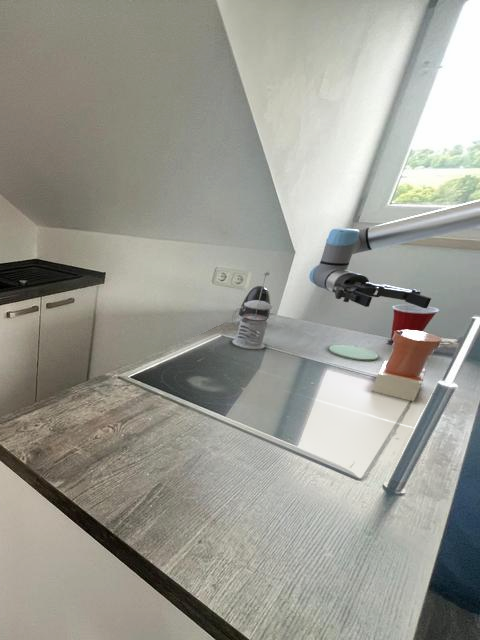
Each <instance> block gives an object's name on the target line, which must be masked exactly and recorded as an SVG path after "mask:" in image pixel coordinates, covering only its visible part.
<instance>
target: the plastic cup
mask: <svg viewBox="0 0 480 640" xmlns="http://www.w3.org/2000/svg"><path fill="white" fill-rule="evenodd" d="M391 308H392V309H393V319H392V327H391V330H392V331H391V334H390V340H391V341H393V340H392V338H393V336H394V333H395V331H398V330H412V331H419V332H424V330H425V329H426V328H427V326H428V325H429V323H430V322H431V320H433V318H434V317H435V315H436V314H437V313H438V312H439V311H440V309H439V308H436V307H433V306H430V305H428V307H427V308H422V307H419V306H416V305H413V304H395V305H392V306H391Z"/></svg>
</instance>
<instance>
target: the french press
mask: <svg viewBox="0 0 480 640" xmlns="http://www.w3.org/2000/svg"><path fill="white" fill-rule="evenodd" d="M261 273H262V276H264V278H263V282H262V285H261V286H262V289H263V287H264V284H265V281H266V277H267V276H270V272H269V271H267V270H266V271H263V272H261ZM261 293H262V290H261ZM260 297H261V294H260ZM244 305H245V306H246V307H248V308H252V309H258V310H269V309H270V310H271V309H273V306H272V305H271V303H270V304H269V303H267V302H265V301H261V300H260V298H259V300H253V301H249V302H246V303H244ZM243 307H244V306H243ZM243 307H241V306H240V307H238V308H237V309H235V310H234V311H233V313H232V316H231V321H232V324H233V326H235V327H236V328H237V332H236V336H235V338H234V339H232V341H231V343H232V344H233V345H235V346H237V347H239V348H244V349H249V350H262V349H264V348H265V347H266V345H265V344H264V338H265V334H266V331H267V327H268V322H267V321H266V320H268V319H269V318H267V317H265V316H261V315H256V314H245V315H243V317H244V318H243V319H242V321H240V320H239V321H240V322H239V324H238V323H237V321H236V315H237V314H236V313H237V312H239V310H240V308H243ZM246 307H245V309H246ZM245 309H244V308H243V310H244V311H245ZM243 310H242V311H243ZM256 313H257V310H256ZM250 321H256V322H258V323H259V324H261V325H258V324H256V323H247V322H250Z"/></svg>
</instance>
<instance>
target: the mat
mask: <svg viewBox="0 0 480 640" xmlns="http://www.w3.org/2000/svg"><path fill="white" fill-rule="evenodd" d="M328 351H329V352H330V353H332V354H334V355H336V356H339V357H343V358H347V359H351V360H355V361H375V360H378V357H379V355H378V354H377V353H376V352H374V351H372V350H370V349H367V348H364V347H361V346H355V345H351V344H349V345H348V344H333V345H330V346H329V347H328Z"/></svg>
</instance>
